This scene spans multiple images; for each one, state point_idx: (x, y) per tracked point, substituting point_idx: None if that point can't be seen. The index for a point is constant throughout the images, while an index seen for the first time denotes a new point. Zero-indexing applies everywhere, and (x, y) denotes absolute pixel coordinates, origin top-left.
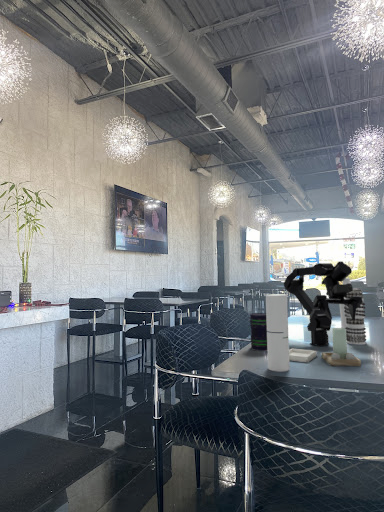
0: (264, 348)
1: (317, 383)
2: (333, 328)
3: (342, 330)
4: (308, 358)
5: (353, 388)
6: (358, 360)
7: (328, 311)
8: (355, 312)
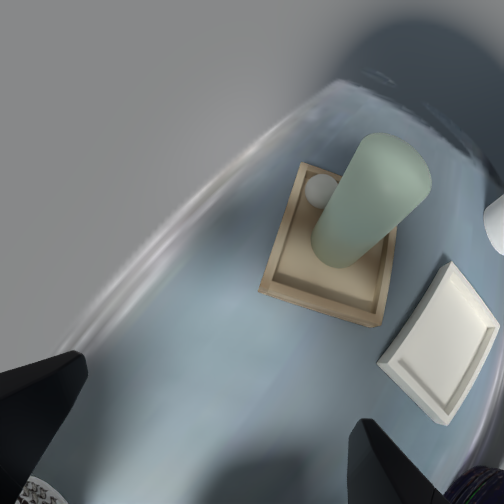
0: (479, 469)
1: (442, 121)
2: (424, 188)
3: (387, 137)
4: (443, 270)
5: (394, 84)
6: (308, 165)
7: (418, 481)
8: (3, 372)
